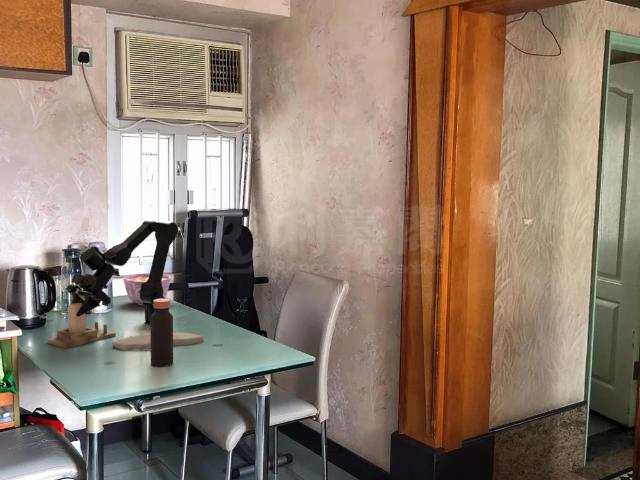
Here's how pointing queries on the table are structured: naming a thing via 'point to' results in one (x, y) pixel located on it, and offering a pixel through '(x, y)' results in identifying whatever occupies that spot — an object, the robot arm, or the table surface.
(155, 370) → the table surface
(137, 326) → the table surface
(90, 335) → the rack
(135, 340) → the stone tablet
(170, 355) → the bottle
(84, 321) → the clay bar
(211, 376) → the table surface
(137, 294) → the bowl of food
